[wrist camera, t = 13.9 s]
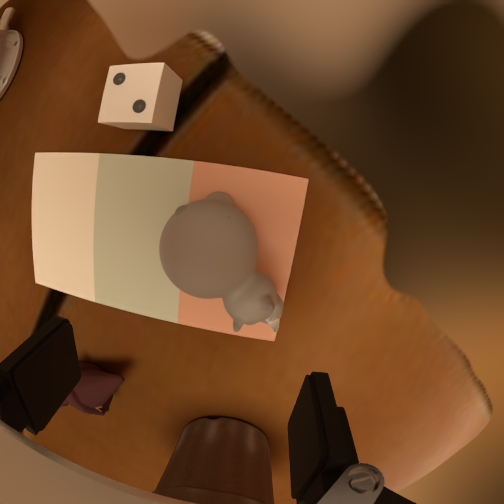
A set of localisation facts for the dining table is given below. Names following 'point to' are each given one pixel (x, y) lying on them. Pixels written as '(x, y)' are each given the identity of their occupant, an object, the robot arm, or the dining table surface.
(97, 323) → the dining table surface
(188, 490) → the plant pot
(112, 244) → the game mat
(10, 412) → the robot arm
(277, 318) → the round bodied animal figurine
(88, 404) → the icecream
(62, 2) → the dining table surface
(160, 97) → the die
